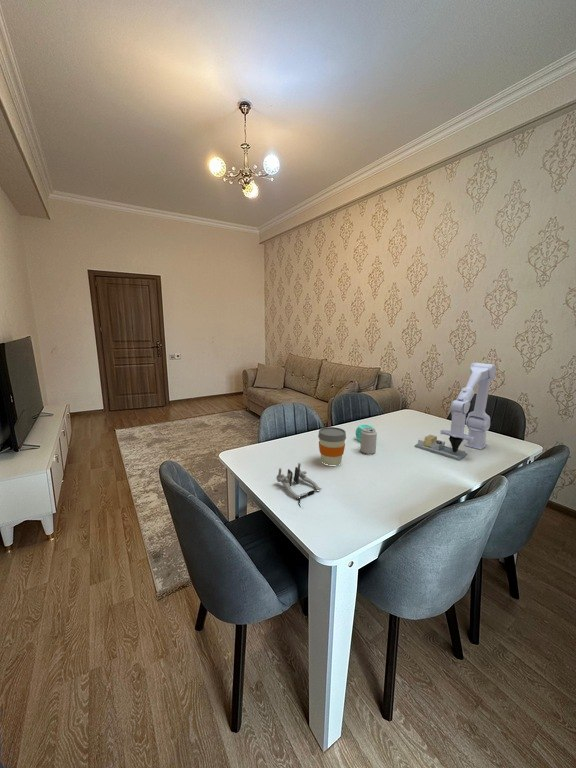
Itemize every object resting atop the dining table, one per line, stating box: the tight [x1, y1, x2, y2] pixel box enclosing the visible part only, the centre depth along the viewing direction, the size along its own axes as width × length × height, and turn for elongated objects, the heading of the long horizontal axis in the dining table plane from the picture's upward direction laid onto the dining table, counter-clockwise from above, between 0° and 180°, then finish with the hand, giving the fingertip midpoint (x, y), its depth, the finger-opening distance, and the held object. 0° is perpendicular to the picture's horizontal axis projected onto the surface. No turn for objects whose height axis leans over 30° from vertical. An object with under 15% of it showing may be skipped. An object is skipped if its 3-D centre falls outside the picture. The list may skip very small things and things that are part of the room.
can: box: [359, 427, 378, 455], centre depth 154 cm, size 8×8×12 cm
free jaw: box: [431, 439, 446, 451], centre depth 157 cm, size 7×4×4 cm, turn 131°
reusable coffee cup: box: [317, 426, 347, 466], centre depth 142 cm, size 12×13×15 cm
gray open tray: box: [414, 436, 469, 461], centre depth 156 cm, size 10×22×4 cm, turn 41°
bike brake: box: [275, 462, 322, 504], centre depth 118 cm, size 14×7×20 cm
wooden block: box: [424, 434, 438, 448], centre depth 160 cm, size 6×4×5 cm, turn 131°
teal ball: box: [355, 424, 375, 443], centre depth 170 cm, size 8×8×8 cm
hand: (454, 451), depth 151 cm, fingers closed
